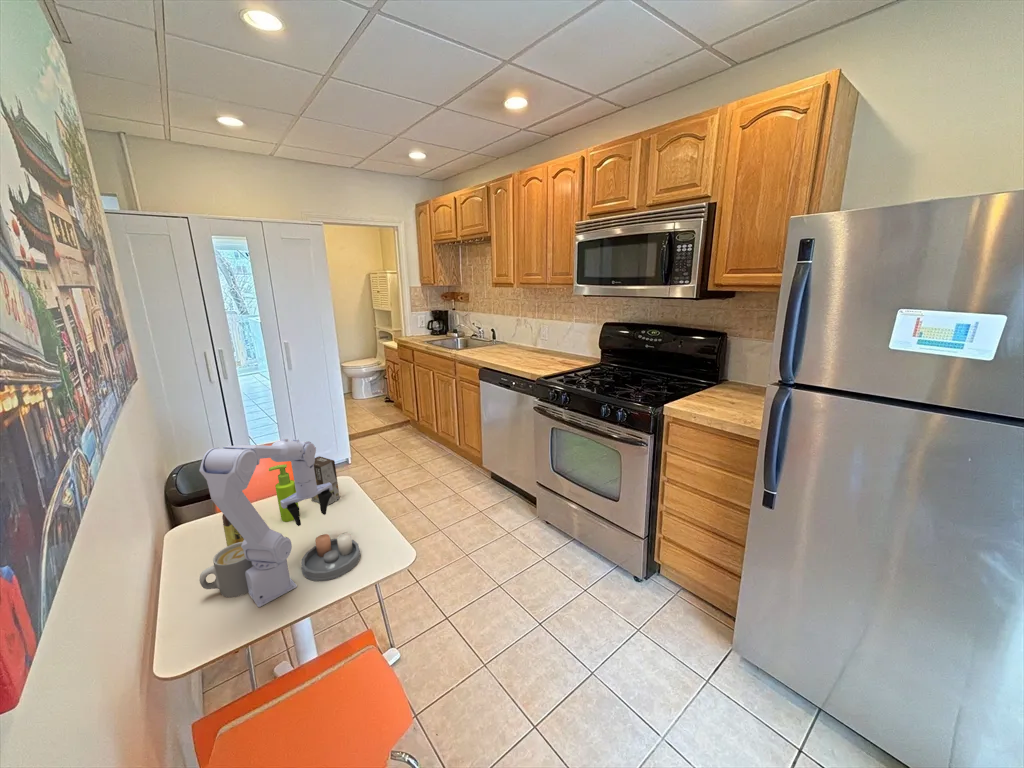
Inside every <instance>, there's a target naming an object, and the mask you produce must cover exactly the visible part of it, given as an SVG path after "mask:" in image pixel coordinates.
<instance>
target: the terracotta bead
mask: <svg viewBox="0 0 1024 768" xmlns="http://www.w3.org/2000/svg"><path fill="white" fill-rule="evenodd" d="M330 540H331V537H330V534H327V533H324V534H323V533H322V534H320V535H318V536H316V538H315V540H314V541H315V546H316V548H317V554H318V556H319V557H324V554H325V553H327V552H328V551H331V550H332V548H331V541H330Z"/></svg>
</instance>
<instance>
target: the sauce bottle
mask: <svg viewBox="0 0 1024 768" xmlns="http://www.w3.org/2000/svg"><path fill="white" fill-rule="evenodd" d="M222 523H223V525H222V527H223V532H224V536H225V541H226V542H225V543H226V547H227V546H230V545H232V544H235V543H239V542H243V541H244V538H243V537H242V536H241V535H240V533H239V532H238V531H237V530H236V529H235V527H234V526H233V525H232V524H231V523H230V521H229V520H228V519H227V518H226V517H225V515H224V514H223V513H222Z"/></svg>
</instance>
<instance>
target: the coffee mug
mask: <svg viewBox="0 0 1024 768" xmlns="http://www.w3.org/2000/svg"><path fill="white" fill-rule="evenodd" d="M242 543H243V542H239V543H235V544H232V545H230V546H227V545H226V547H224V548H222V549H221V550H219V551H218V552H217V553H216V554H215V555H214V557H213V560H212V563H213V565H211V566H210V567H207V568H205V569H204V570H202V571H201V573H200V574H199V584H200V586H201V587H202V588H203V589H205V590H213V589H217V590H219V592H220V595H222V597H224V598H236V597H240V596H242V595H246V594H247V593H248V594H249V590H248V585H247V580H246V575H245V571H247V570H248V569H250V568H251V567H252V566H254V565H252V562H251V561H248V560H247V559H246V558H245V556H244V550H243V549H242V547H241V545H242ZM211 574H212V575H215V579H214V580H213V581H211V582H208V581H207V577H208V576H210V575H211Z"/></svg>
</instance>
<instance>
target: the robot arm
mask: <svg viewBox="0 0 1024 768" xmlns="http://www.w3.org/2000/svg"><path fill="white" fill-rule="evenodd" d="M316 451H317V447H316V446H315V445H314V443H312V442H311V441H306V440H304V441H303V440H299V439H292V440H289V439H288V438H280V439H279V440H277V441H275V442H273V443H272V444H271V445H262V444H261V445H260V444H259V445H258V444H239V445H227V446H222V447H221V448H220V447H212V448H210V449H208V450H207V451H206V452H205V453H204V455H203V457H202V458H201V462H200V463H201V464H200V466H199V470H198V471H199V473H200V474H201V476H203V478H204V479H205V481H206V484H207V487H208V491H209V495H210V498H211V501H212V502H213V503H214V505H215V506H216V507H217V508H218V509H219V511H220V512H221V513H222V515H223V514H224V515H225V517H226V518H227V519H228V520H229V521H230V523H231V524H232V525H233V526H234V527H235V529H236V530H237V531H238V532H239V533H240V535H241V536H242V537H243V538H244V541H243V543H242V545H241V547H242V549H243V550H244V556H245V558H246V559H247V560H248V561H251V562H252V565H254V566H252V567H251V568H250V569H248V570H247V571H245V575H246V580H247V585H248V590H249V592H248V595H249V596H250V598H251V599H252V600H253V602H254V603H255V605H256V607H258V608H260V607H263V606H264V605H266V604H269V603H271V602H272V601H274V600H275V599H277V598H279V597H281V596H283V595H285V594H287V593H289V592H290V591H292V590H295V589H296V588H297V586H298V585H297V584H296V583H295V582H294V580H293V579H292V578H291V576H290V570H289V564H288V560H287V559H288V557H290V555H291V552H292V548H293V545H292V540H291V538H289V537H285V536H284V535H283V534H282V533H280V532H278V531H276V530H273V529H271V528H270V527H269V526H268V524H267V523H266V521H265V520H264V519H263V517H262V516H261V515H260V514H259V512H258V511H257V509H256V508H255V507H254V504H252V502H251V501H250V500H249V499H248V497H247V496H246V495H245V493H244V492H243V491H244V490H246V489H247V488H248V486H249V484H250V482H251V480H252V477H253V475H254V472H255V470H256V468H257V466H259V465H260V462H261V459H271V461H273V462H275V463H282V462H287V463H288V462H290V463H291V469H292V475H293V481H294V482H295V488H296V493H294V494H293V495H291V496H289V497H287V498H286V499H283V500H281V501H280V502H281V507H282V508H283V509H285V508H287V509H288V511H289V512H290V513H291V515H292V516H293V518H294V520H293V521H294V522H295V525H296V526H297V527H300V526H302V522H301V517H300V516H299V512H300V506H299V505H298V506H299V507H298V506H297V504H296V503H297V502H298V503H300V502H302V501H304V500H305V501H306V500H308V499H311V498H312V497H314V496H316V495H318V498H319V502H320V503H319V508H320V509H319V510H320V512H321V514H322V515H323V516H326V515H327V509H328V506H329V505H328V502H329V499H330V497H331V492H329V491H330V490H333V488H332V484H331V483H330V482H328V483H325V484H321V485H317V484H316V477H315V471H314V463H315V458H316V457H315V456H316V453H317V452H316ZM327 505H328V506H327Z"/></svg>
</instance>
